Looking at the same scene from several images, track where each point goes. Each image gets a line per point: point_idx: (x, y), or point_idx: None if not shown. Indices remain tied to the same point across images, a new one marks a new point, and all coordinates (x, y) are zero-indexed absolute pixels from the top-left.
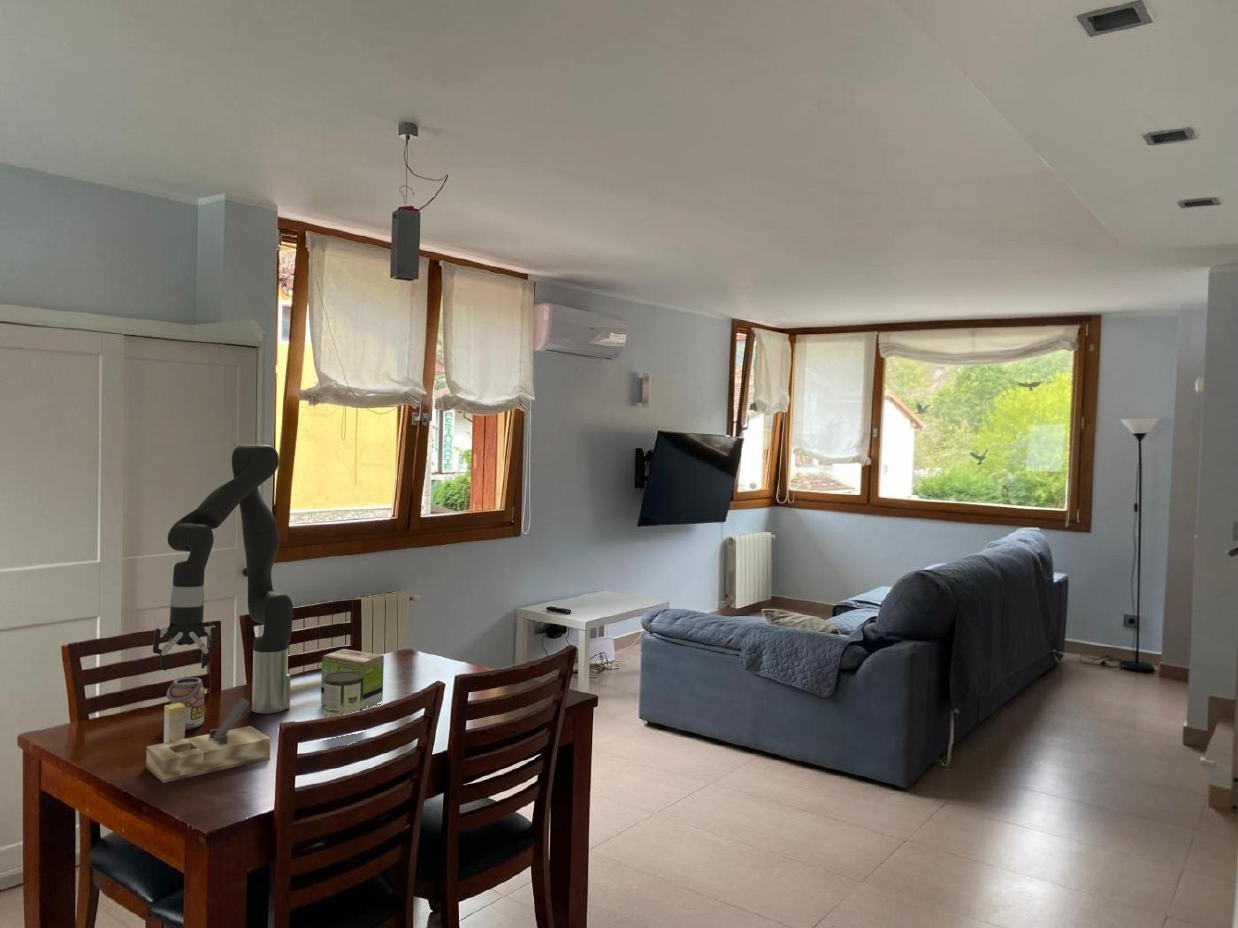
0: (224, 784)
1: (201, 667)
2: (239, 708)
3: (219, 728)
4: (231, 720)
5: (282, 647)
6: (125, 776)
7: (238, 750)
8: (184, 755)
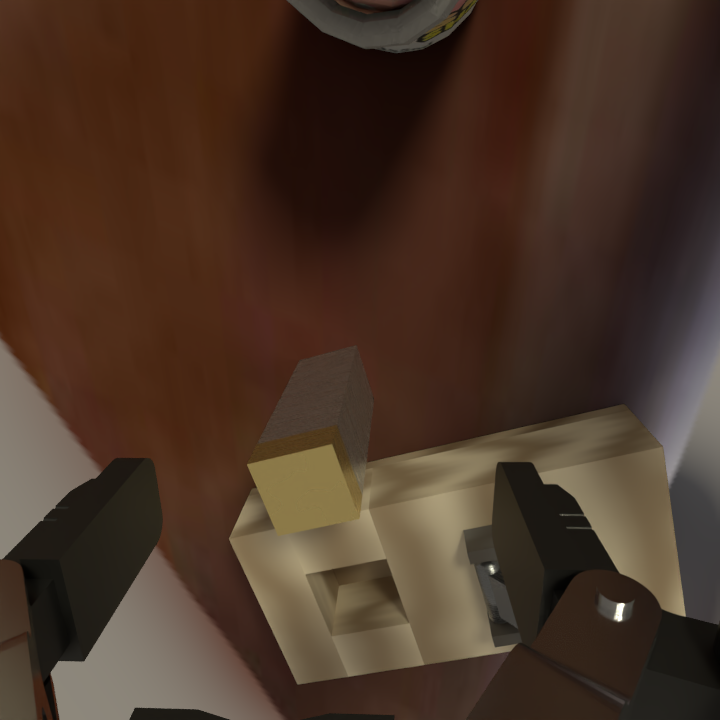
0: (469, 689)
1: (494, 521)
2: None
3: (505, 589)
4: None
5: None
6: (198, 536)
7: None
8: (361, 667)
